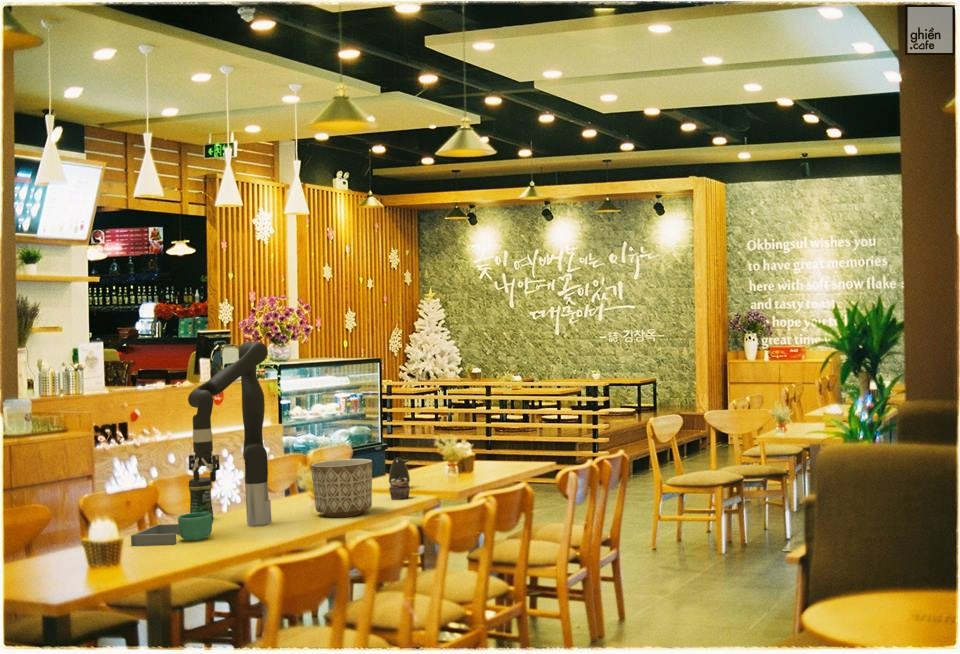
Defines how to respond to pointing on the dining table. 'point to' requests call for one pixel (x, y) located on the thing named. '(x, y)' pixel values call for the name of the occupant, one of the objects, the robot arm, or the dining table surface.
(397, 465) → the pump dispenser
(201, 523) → the mug
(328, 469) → the planter
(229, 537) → the dining table surface
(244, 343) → the robot arm
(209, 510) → the coffee jar
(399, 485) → the cupcake
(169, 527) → the tray
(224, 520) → the dining table surface
